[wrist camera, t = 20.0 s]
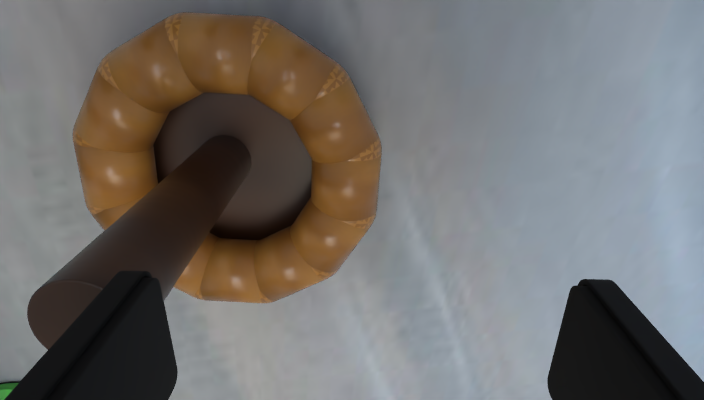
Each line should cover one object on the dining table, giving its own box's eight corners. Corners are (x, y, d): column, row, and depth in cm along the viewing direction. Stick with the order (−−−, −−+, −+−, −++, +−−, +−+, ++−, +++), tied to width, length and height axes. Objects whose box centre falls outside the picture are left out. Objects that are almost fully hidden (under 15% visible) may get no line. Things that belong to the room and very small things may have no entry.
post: (129, 53, 21) (-216, 120, 8) (324, 60, 21) (274, 136, 8) (157, 227, 24) (-54, 458, 12) (323, 232, 24) (288, 468, 12)
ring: (76, 4, 18) (26, 3, 16) (389, 23, 19) (395, 25, 16) (123, 272, 23) (91, 307, 21) (368, 285, 24) (369, 321, 21)
